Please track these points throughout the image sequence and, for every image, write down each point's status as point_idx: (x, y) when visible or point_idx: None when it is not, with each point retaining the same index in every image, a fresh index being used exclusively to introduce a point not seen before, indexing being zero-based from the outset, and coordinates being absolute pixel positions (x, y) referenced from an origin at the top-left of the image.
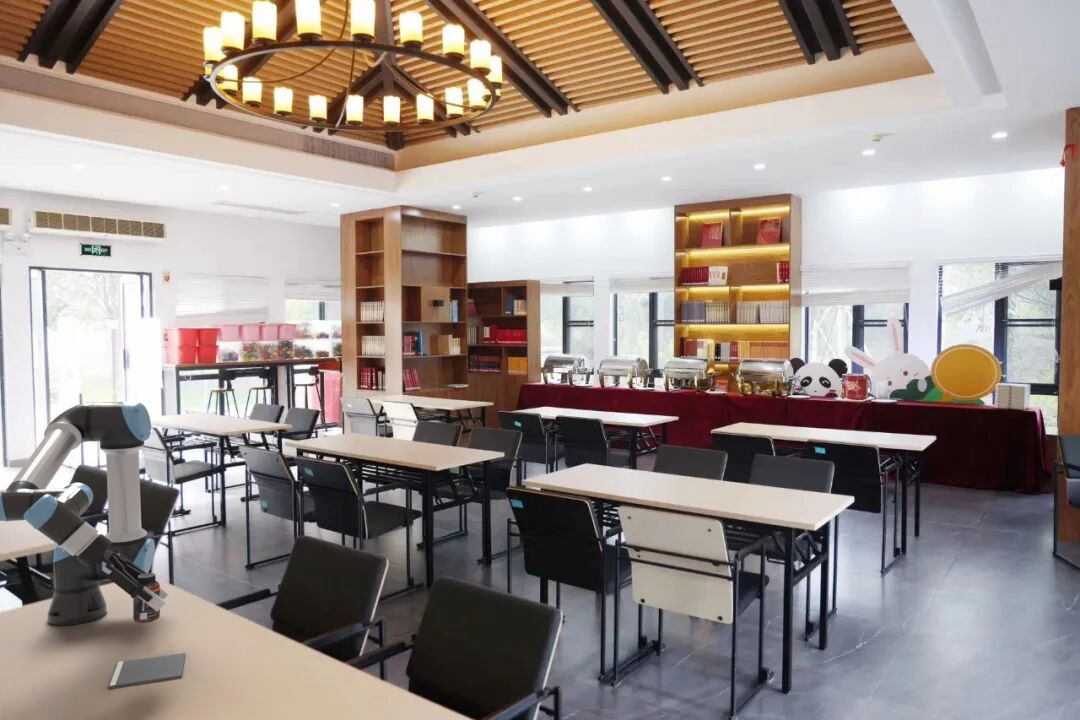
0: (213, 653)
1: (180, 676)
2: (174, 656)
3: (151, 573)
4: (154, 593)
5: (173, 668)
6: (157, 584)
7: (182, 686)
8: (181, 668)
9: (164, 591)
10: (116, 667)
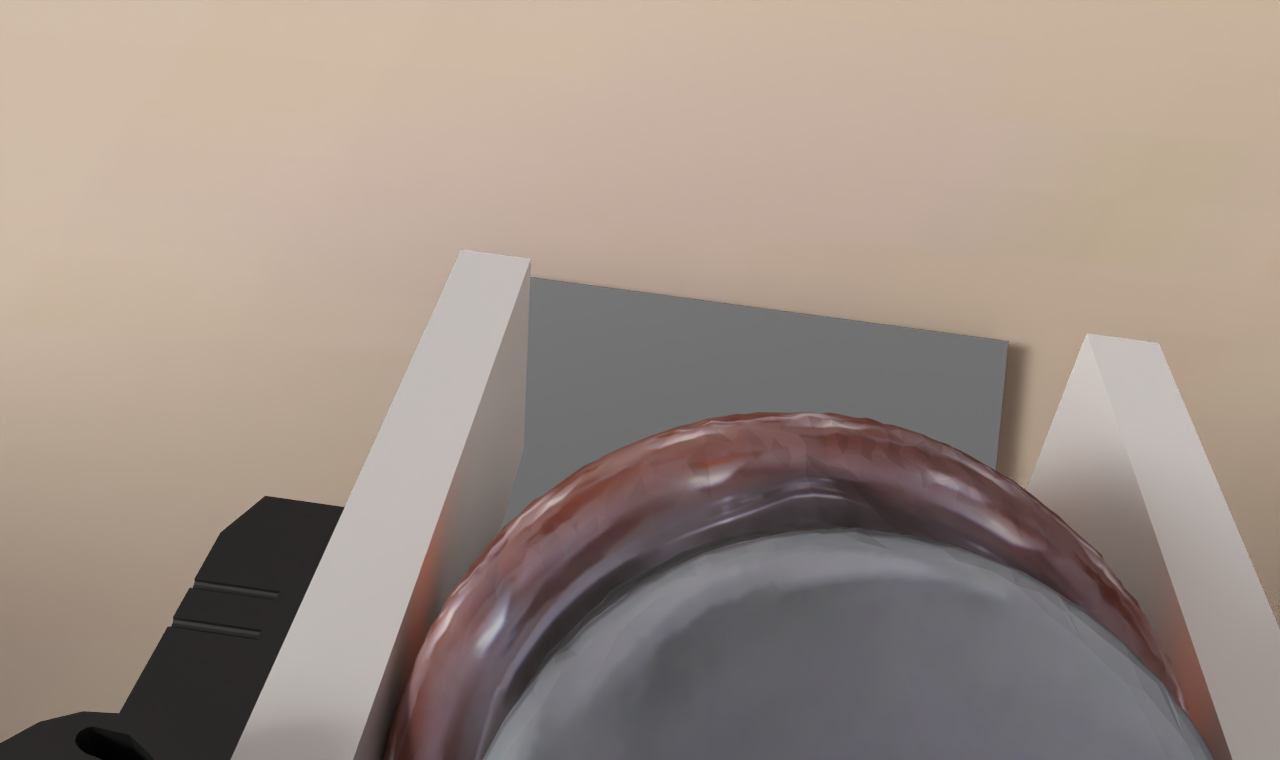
0: (569, 36)
1: (1005, 352)
2: None
3: (659, 707)
4: (1196, 587)
5: (813, 399)
6: (973, 479)
7: (1204, 351)
8: (846, 330)
9: (510, 321)
10: None
